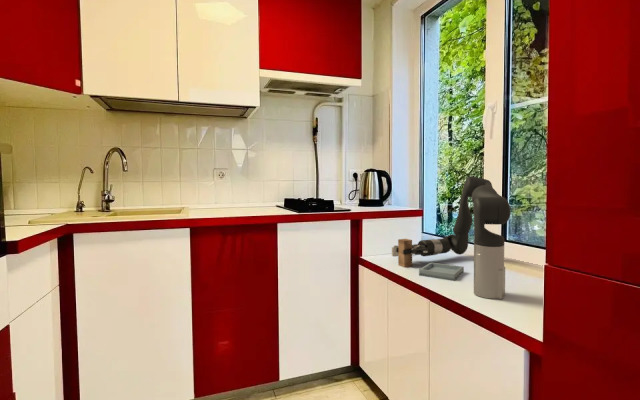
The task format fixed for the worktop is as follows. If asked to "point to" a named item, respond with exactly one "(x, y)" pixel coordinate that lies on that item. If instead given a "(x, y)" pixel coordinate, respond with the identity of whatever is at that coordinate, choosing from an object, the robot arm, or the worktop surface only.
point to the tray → (441, 271)
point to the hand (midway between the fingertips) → (400, 251)
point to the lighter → (394, 251)
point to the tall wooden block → (403, 259)
